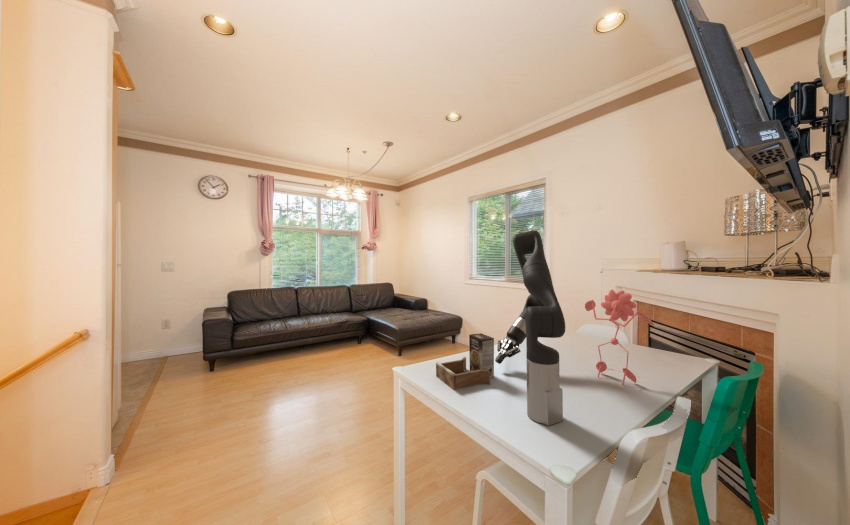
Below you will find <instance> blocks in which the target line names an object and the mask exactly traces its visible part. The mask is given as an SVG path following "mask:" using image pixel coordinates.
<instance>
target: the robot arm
mask: <svg viewBox="0 0 850 525" xmlns="http://www.w3.org/2000/svg"><path fill="white" fill-rule="evenodd" d="M512 245H513V249H514V252H515V255H516V258H517V260H518V263H519V266H520V268H521V273H522V279H523V284H524V286H525V288H526V290H527V291H528V294H529V295H528V296H527V297H526V301H525V303H524V306H523V310H522V311H521V313H520V314H519V316H518V317H517V318H516V319H515V321H514V322H512V325H511V326H510V328H509V329H508V330H507V332H506V337H504V338H503V340H500V339H498V340H497V349H496V351H497V352H498V355H497V356H496V357H495V358H494V362H496V363H497V364H498V365H501V363H503V362H504V360H505V359H506V358H511V357H514V356H515V355H518V354H519V353H521V349H520V345H522V344H523V342H525V341H526V346H525V347H526V414H527V417H528V418H529V419H531V420H532V421H535V422H537V423H539V424H543V425H545V426H552V425H555V424H557V423H560V422H563V421H564V409H563V408H564V405H563V403H564V400H563V398H564V397H563V393H564V392H563V391H564V390H563V388H561V387H560V353H559V351H558V350H557V349H555V348H554V347H551V346H548V345H545V344H543V343H542V342H540V341H539V338H549V339H550V338H551V339H555V338H557V339H559V338H562V337H563V336H564V335H565V333H566V320H565V317H564V316H565V315H564V312H563V310H562V308H561V307H562V306H561V305H560V302H559V300H558V298H557V295H556V292H555V288H554V284H553V280H552V275H551V271H550V269H549V266H548V262H547V259H546V255H545V251H544V245H543V238H542V235H541V233H540V232H539V231H538V230H533V229H532V230H527V231H524V232H519V233H516V234H513V237H512ZM526 255H530V256H529V258H528V259H527V257H526ZM525 339H526V340H525Z"/></svg>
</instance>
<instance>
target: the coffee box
mask: <svg viewBox="0 0 850 525" xmlns="http://www.w3.org/2000/svg"><path fill="white" fill-rule="evenodd" d="M468 337H469V338H468V340H469V342H468V343H469V344H468V345H469V348H468V350H469V372H470V371H475V370H490V379H491V378H492V379H493V378H494V377H495V338H494V337H491V336H489V335H486V334H484V333H481V332H480V333H471V334H469V336H468Z"/></svg>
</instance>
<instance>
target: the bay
mask: <svg viewBox="0 0 850 525" xmlns="http://www.w3.org/2000/svg"><path fill="white" fill-rule="evenodd" d="M465 369H466V370H467V357H466V356H464V357H463V358H461V359H457V360H451V361H446V362H441V363H440V362H439V361H438V362H436V363H435V373H436V374H435V376H436V378H438V379H439V380H440V381H442V382H443V383H445V385H446V386H448V387H449V388H450V389H452V390H458V389H462V388H467V387H472V386H476V385H480V384H482V385H490V384H491V380H490V379H491V378H490V370H475V371H470V370H469V371H466V370H465ZM464 370H465V371H466V372H465V371H464ZM463 371H464V372H463ZM458 372H461V373H458Z"/></svg>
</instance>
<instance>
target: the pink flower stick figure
mask: <svg viewBox="0 0 850 525" xmlns="http://www.w3.org/2000/svg"><path fill="white" fill-rule="evenodd" d="M608 291H609V292H608V294H605V295H604V301H602V302H601V303H600V305H601V307H602V308H603V309H605V310H604V315H606V316H610V317H609V318H603V317H602V318H601V317H600V318H599V317H597V314H596V310H595V308H596V302H595V301H594V300H593V299H591V300H588V301H586V302H585V304H584V309H585V310H586V312H589V311H593V315H594V316H593V317H594V319H595V320H597V321H599V320H603V321H609V322H611V323H613V324H614V325H616V326H617V329H616V331H615V334H614V337H613V338H611V339H610V341H608V342H606V343H601V344H599V345H597V348H598V353H599V359H600V361H598V362H596V364H595V368H596V369H597V370H598V372H597V378H599V377H600V373H601V374H602V373H603V372H605V371H606V370H611V371H616V372H618V370H616V369H612V368H611V369H610V368H608V366H607V364H606V361H604V360H602V355H601V349H600V346H604V345H608V344H612V345H613V346H617V345H619V346H620V347H621V348H622V349H623V350H624V351H625V352H626V365H625V367H623V368H622V371H620V370H619V372H621V373H623V378H622V383H621V385H622V386H624V385H625V381H626V378H628V379H629V380H631V381H632V382H633V383H635V384H636V383H637V378H638V379H640V377H639V376H636V375H635V374H634V373H633V372H632V371H631V370H629V369H628V367H629V366H628V364H629V363H628V362H629V351H628V350H627V349H626V348H625V347H624V346H623V345H622V344H621V343H619V340H618V339H617V338H616V337H617V336H618V335H617V334H618V333H619V329H620V326H621V327H623V328H625V327H626V326H627V325H628V324H629V323H630V322H631V321H632V320H633V319H634V318H635V317H636V316H637V315H638V316H640V318H641V319H642V320H644V321H645V322H646V323H647V324H649V325H651V326H652V327H655V324H654V323H653V321H652V319H650V318H649V317H648V316H647V315H646V314H644V313H643V312H641V311H639V310H636V312H635V311H634V309H635V308H637V304H636V303H635V302H634V301H632V298H633V296H632V294H630V293H626V292H625V291H624V290H619V291H617V292H616V291H615V290H614V289H610V290H608ZM629 317H630V318H629ZM619 319H621V321H622V322H625V324H622V323H620V322H617V321H618V320H619ZM639 391H640V392H641V391H642V389H639V390H638V392H639Z"/></svg>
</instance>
